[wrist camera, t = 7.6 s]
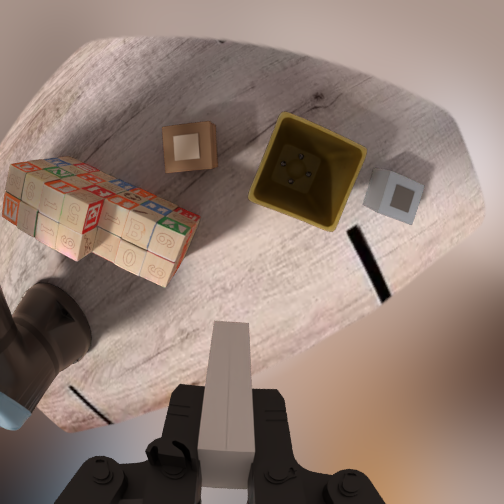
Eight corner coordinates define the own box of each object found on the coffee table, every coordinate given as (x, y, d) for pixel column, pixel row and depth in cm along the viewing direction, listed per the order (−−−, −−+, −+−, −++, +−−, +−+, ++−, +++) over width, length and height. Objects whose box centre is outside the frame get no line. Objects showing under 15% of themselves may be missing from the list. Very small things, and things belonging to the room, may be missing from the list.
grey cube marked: (362, 204, 35) (378, 213, 30) (373, 167, 33) (391, 170, 28) (394, 215, 35) (412, 225, 30) (405, 180, 34) (425, 185, 29)
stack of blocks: (203, 215, 36) (178, 246, 24) (184, 258, 37) (156, 305, 26) (68, 155, 33) (8, 163, 21) (56, 196, 34) (-1, 217, 23)
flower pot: (274, 120, 32) (282, 108, 23) (342, 149, 33) (369, 149, 24) (247, 188, 34) (245, 200, 26) (314, 214, 35) (333, 234, 27)
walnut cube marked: (177, 170, 34) (164, 173, 29) (174, 130, 32) (161, 126, 27) (218, 166, 34) (212, 168, 29) (215, 125, 32) (209, 120, 27)
